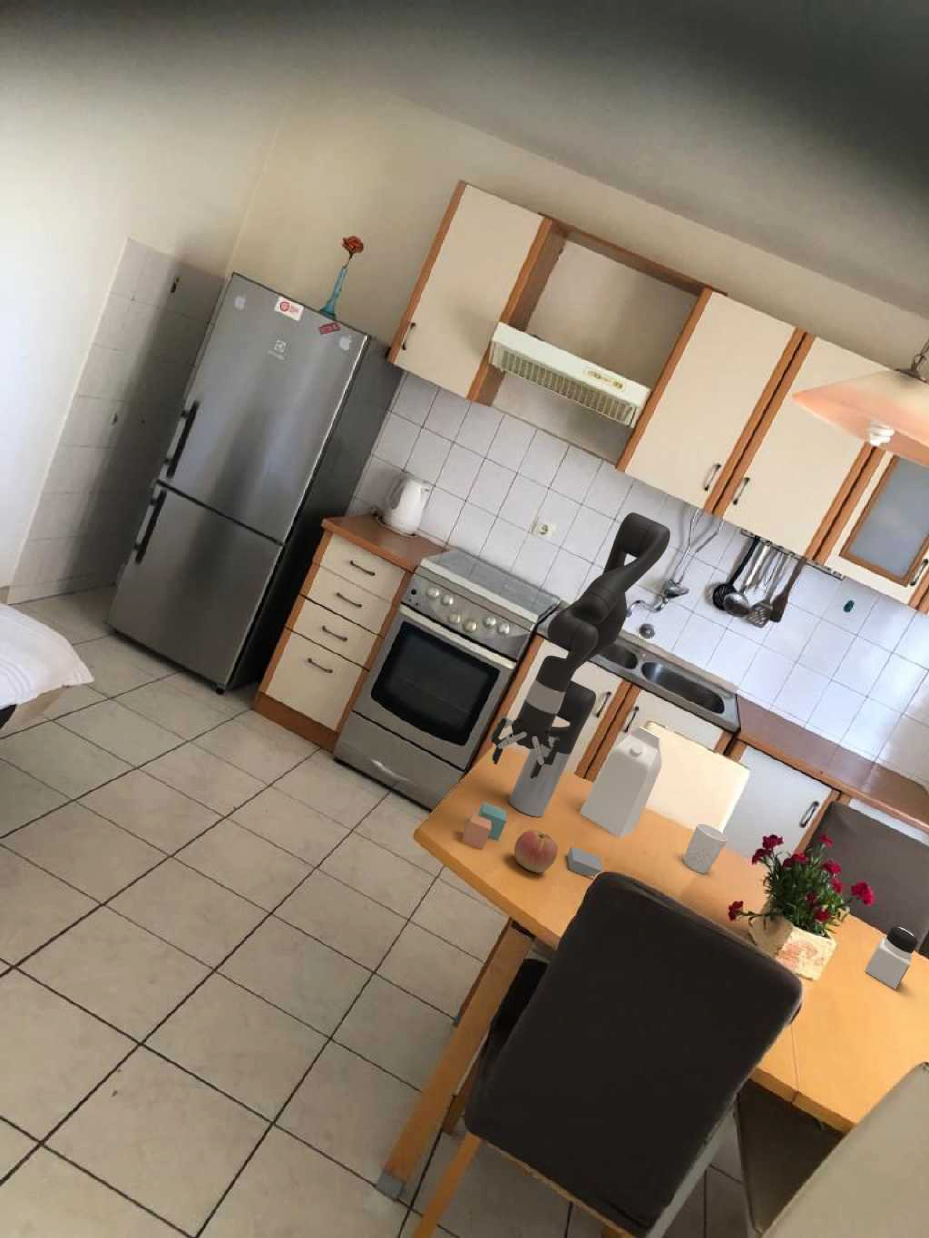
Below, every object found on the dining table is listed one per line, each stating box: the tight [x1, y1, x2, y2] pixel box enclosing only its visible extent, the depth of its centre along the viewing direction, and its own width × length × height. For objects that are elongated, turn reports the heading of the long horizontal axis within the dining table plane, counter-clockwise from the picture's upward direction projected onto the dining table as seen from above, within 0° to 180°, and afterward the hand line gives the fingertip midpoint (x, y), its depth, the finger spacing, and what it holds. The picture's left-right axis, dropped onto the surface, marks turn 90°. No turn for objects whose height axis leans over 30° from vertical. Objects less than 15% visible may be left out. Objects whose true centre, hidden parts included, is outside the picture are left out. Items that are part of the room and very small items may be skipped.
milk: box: [578, 726, 663, 839], centre depth 243 cm, size 12×12×26 cm
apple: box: [513, 829, 559, 874], centre depth 202 cm, size 9×9×8 cm
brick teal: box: [477, 801, 507, 841], centre depth 211 cm, size 6×6×5 cm
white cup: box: [682, 822, 728, 875], centre depth 239 cm, size 8×8×10 cm
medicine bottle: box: [865, 926, 919, 991], centre depth 219 cm, size 7×7×12 cm
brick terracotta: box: [461, 812, 491, 851], centre depth 203 cm, size 4×4×5 cm
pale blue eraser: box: [566, 845, 604, 877], centre depth 212 cm, size 7×7×2 cm
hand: (513, 770), depth 208 cm, fingers open, 8 cm apart
